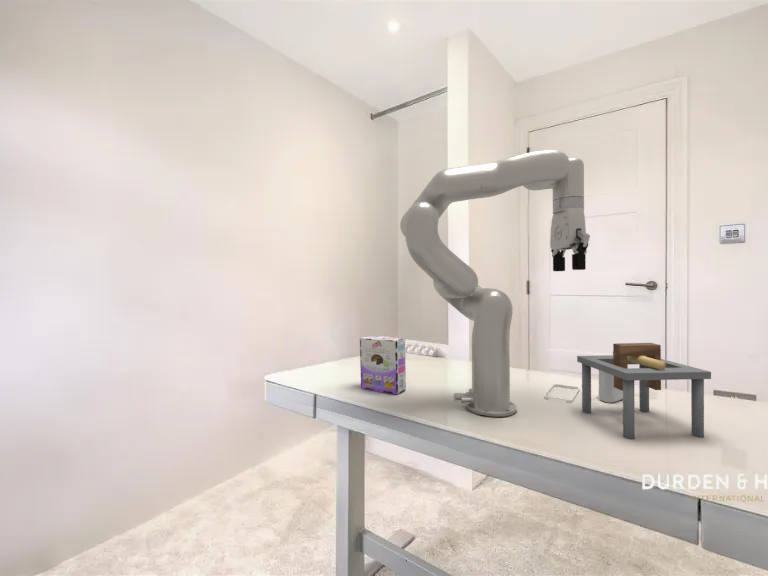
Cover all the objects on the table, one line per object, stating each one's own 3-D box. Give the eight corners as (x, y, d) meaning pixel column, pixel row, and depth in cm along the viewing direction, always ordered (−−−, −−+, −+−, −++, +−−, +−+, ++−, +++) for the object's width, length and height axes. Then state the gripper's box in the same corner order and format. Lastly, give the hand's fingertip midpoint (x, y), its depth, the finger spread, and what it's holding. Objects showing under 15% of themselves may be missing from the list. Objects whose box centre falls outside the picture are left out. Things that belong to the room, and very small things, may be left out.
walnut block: (661, 390, 81) (660, 344, 81) (622, 390, 81) (621, 345, 81) (651, 386, 84) (650, 342, 84) (613, 387, 84) (613, 343, 84)
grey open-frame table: (711, 438, 74) (711, 362, 74) (626, 440, 74) (626, 363, 74) (645, 408, 92) (645, 347, 92) (577, 409, 92) (577, 348, 92)
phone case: (554, 387, 113) (542, 400, 101) (554, 383, 113) (542, 395, 101) (580, 391, 109) (571, 405, 97) (580, 387, 109) (571, 400, 97)
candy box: (406, 390, 110) (406, 337, 110) (397, 395, 105) (396, 340, 105) (370, 384, 118) (369, 334, 118) (359, 388, 113) (359, 337, 113)
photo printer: (613, 393, 105) (613, 352, 105) (630, 397, 101) (630, 354, 101) (596, 400, 99) (596, 356, 99) (613, 404, 95) (612, 358, 95)
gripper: (539, 213, 104) (539, 271, 104) (572, 199, 86) (572, 269, 87) (564, 213, 104) (565, 271, 104) (602, 199, 87) (602, 269, 87)
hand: (568, 270), depth 95 cm, fingers open, 9 cm apart
